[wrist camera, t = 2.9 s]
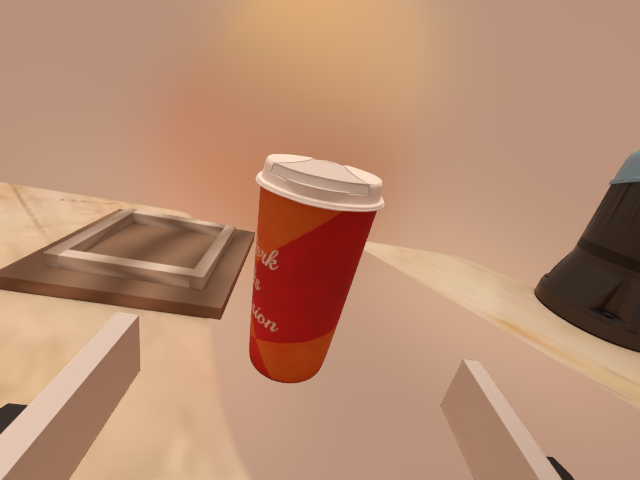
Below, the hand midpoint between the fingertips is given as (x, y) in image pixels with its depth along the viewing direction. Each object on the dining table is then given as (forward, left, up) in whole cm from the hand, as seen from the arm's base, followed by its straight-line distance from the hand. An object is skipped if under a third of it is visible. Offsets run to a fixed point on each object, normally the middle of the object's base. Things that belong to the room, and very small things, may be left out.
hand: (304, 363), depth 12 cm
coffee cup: (0, -10, -9) cm, 13 cm away
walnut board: (+15, -22, -8) cm, 28 cm away
